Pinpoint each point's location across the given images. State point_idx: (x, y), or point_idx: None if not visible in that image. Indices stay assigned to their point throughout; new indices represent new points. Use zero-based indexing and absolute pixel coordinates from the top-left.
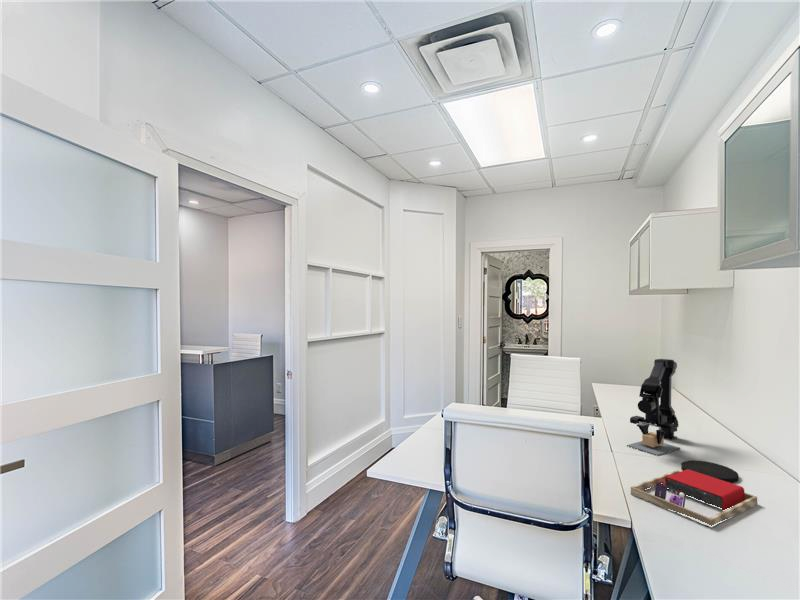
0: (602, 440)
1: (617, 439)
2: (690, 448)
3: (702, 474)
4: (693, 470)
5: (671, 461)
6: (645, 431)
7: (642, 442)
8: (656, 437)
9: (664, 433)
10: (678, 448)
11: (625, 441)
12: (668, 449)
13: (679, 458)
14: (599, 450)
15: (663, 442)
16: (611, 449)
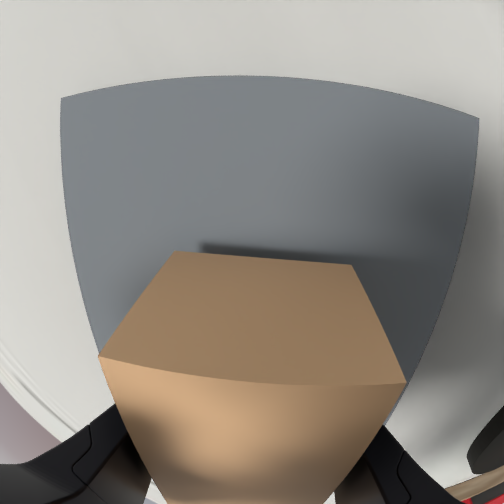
0: (29, 405)
1: (10, 340)
2: (497, 24)
3: (500, 497)
4: (497, 463)
5: (437, 442)
6: (130, 497)
7: (114, 312)
8: (326, 490)
9: (448, 501)
10: (473, 157)
11: (45, 346)
12: (414, 310)
13: (480, 380)
14: (149, 497)
15: (359, 289)
16: (153, 482)
